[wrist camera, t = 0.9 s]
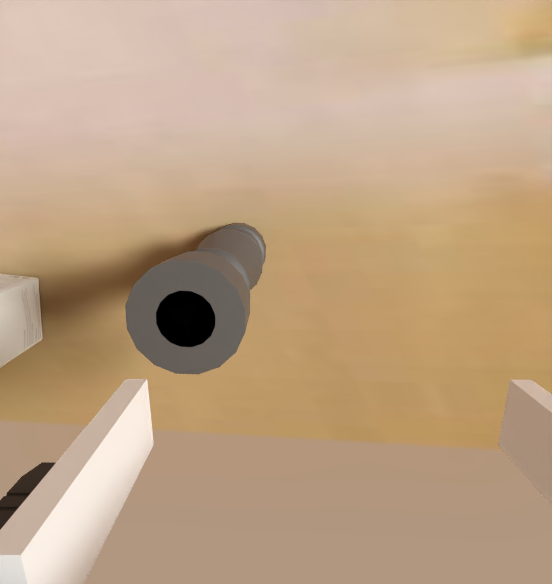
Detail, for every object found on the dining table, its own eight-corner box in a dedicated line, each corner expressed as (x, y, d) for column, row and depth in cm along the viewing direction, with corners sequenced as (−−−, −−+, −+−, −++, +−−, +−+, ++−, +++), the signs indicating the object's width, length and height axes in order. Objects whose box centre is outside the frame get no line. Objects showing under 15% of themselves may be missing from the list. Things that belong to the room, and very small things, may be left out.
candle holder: (270, 272, 42) (261, 369, 18) (217, 280, 42) (137, 387, 18) (261, 218, 40) (238, 243, 16) (206, 227, 41) (103, 265, 16)
